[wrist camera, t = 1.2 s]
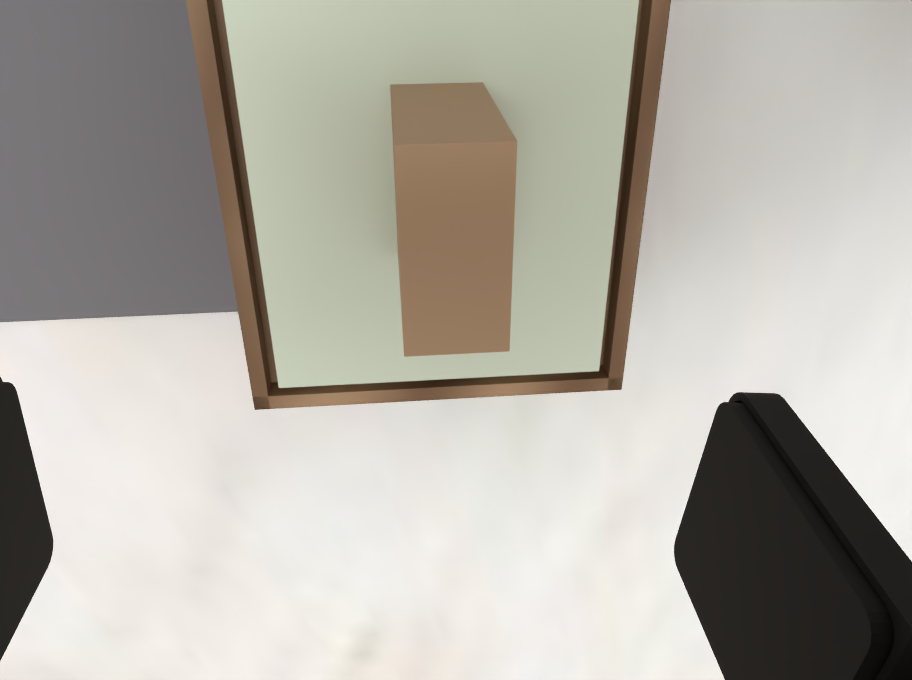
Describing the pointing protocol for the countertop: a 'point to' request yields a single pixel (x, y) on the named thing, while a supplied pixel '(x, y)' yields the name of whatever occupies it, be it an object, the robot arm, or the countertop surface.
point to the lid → (432, 181)
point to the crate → (268, 395)
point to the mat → (106, 164)
